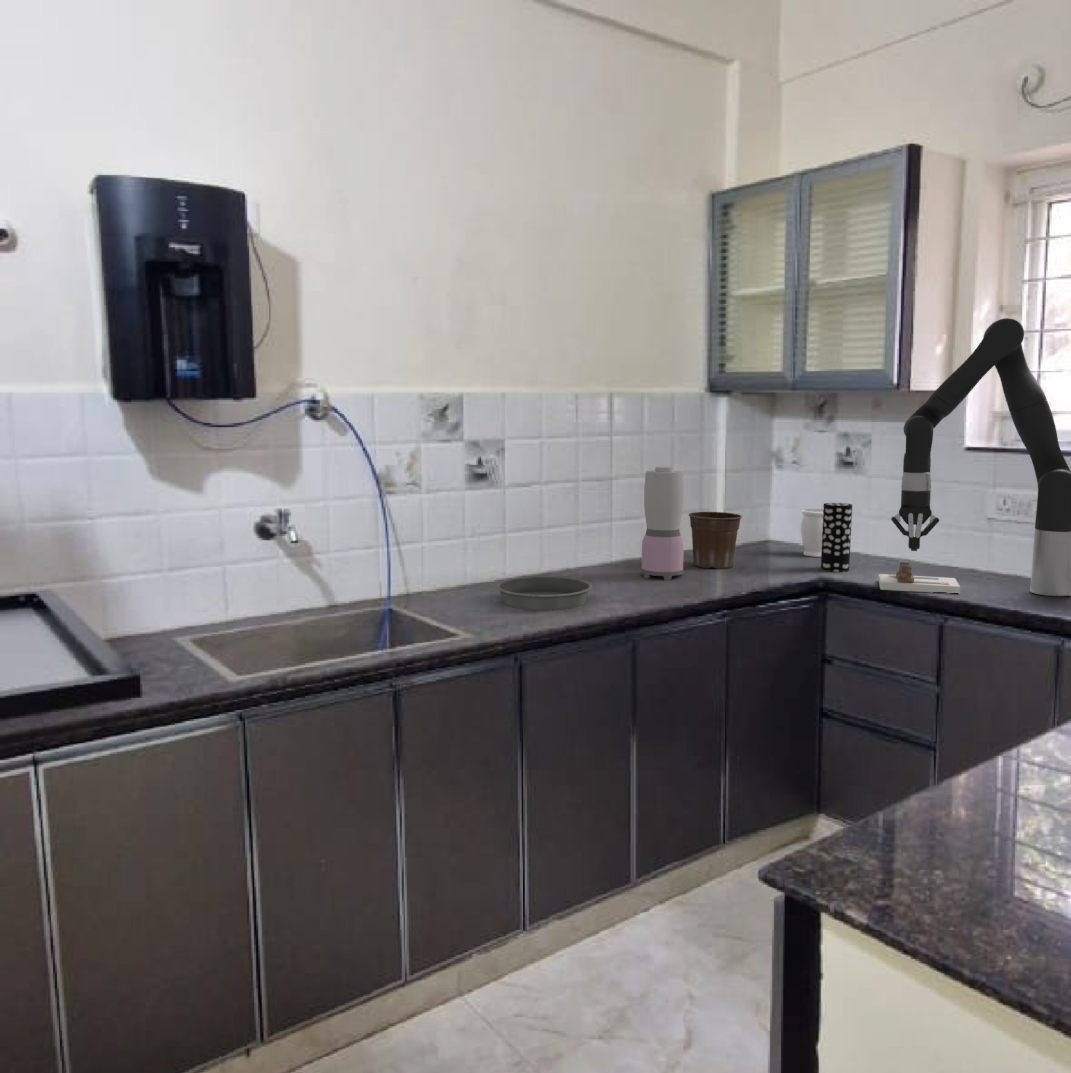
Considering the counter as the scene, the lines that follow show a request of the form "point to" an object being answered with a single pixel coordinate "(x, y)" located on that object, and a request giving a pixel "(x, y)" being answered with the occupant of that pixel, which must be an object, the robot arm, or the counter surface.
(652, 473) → the blender
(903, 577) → the brown tab
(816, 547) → the jar
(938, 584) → the switch panel
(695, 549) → the plant pot
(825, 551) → the white-spotted black cylinder
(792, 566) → the counter surface
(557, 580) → the cake pan
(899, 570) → the charcoal tab
